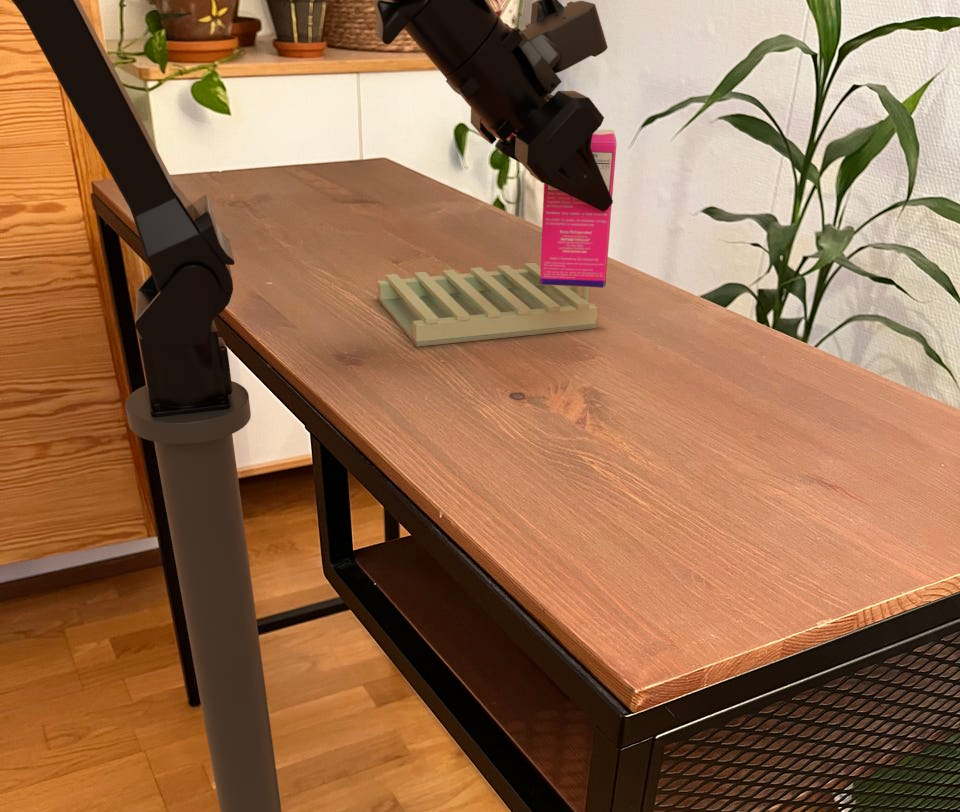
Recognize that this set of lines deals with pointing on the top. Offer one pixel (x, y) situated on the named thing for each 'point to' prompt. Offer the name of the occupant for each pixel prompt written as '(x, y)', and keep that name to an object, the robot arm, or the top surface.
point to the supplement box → (578, 228)
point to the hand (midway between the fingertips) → (594, 196)
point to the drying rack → (483, 305)
